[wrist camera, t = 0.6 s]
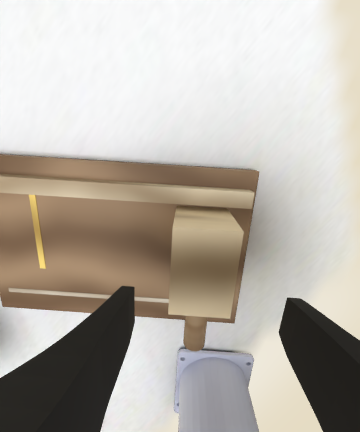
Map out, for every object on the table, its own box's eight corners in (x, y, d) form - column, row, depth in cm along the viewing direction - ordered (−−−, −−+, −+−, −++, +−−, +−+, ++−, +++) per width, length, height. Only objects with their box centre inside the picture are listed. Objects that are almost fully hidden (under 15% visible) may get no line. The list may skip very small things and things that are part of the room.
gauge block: (214, 310, 19) (223, 362, 15) (171, 307, 20) (165, 358, 15) (227, 208, 17) (243, 231, 12) (176, 205, 17) (172, 227, 12)
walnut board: (231, 311, 21) (237, 333, 19) (14, 296, 22) (-9, 316, 19) (253, 170, 17) (265, 173, 15) (-14, 153, 17) (-49, 153, 15)
